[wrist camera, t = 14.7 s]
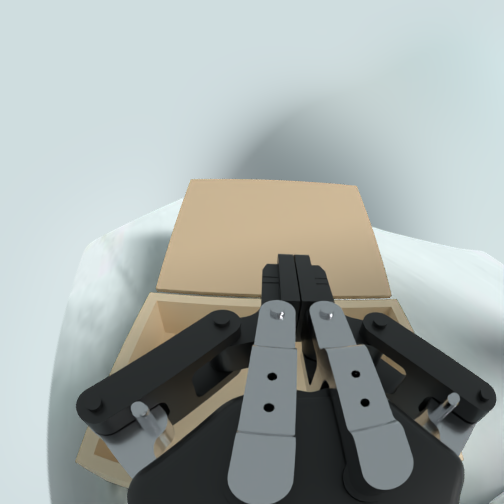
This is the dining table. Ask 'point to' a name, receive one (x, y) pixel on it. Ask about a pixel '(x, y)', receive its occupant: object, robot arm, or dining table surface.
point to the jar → (498, 499)
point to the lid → (270, 237)
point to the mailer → (176, 320)
